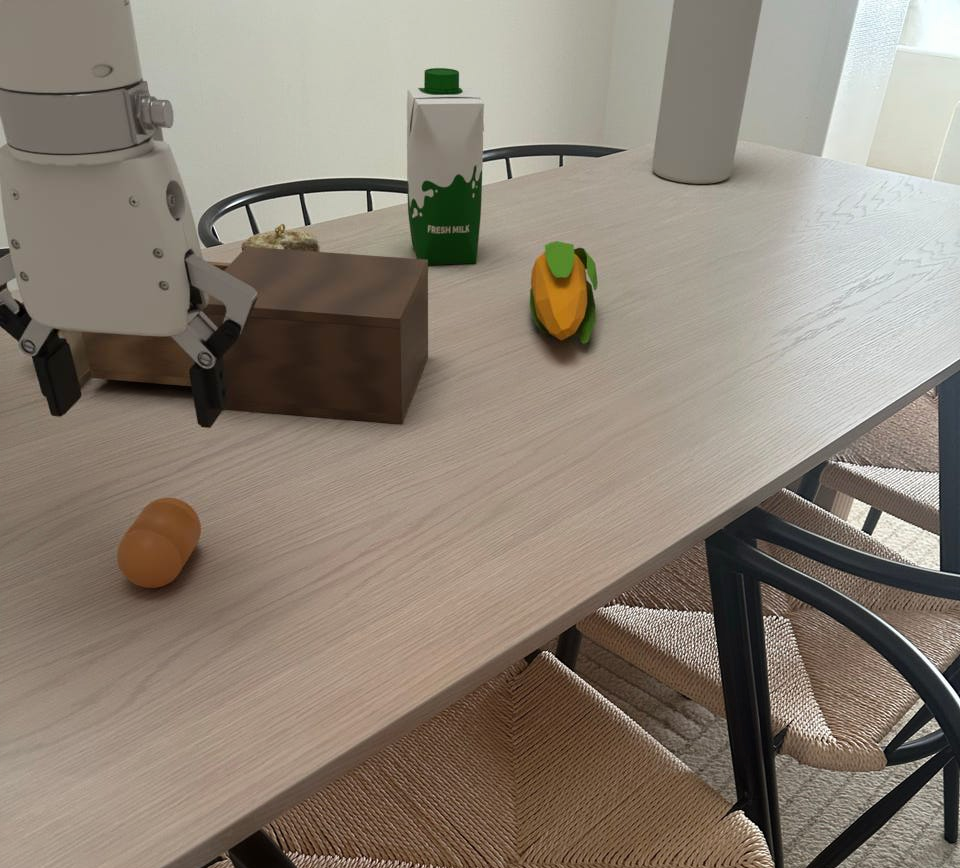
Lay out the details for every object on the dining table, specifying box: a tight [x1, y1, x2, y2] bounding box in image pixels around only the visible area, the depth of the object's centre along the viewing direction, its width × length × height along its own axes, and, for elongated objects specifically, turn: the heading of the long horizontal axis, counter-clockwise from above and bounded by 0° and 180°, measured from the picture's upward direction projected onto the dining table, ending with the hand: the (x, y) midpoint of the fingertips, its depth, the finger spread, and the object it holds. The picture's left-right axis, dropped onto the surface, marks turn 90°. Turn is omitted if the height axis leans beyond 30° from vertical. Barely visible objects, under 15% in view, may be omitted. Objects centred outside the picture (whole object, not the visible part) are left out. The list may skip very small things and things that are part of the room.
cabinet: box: [201, 247, 429, 425], centre depth 92 cm, size 18×15×10 cm
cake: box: [240, 223, 321, 252], centre depth 117 cm, size 10×10×5 cm
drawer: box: [21, 260, 232, 387], centre depth 94 cm, size 22×14×8 cm, turn 83°
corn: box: [529, 240, 598, 344], centre depth 105 cm, size 7×8×20 cm
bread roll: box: [116, 497, 202, 589], centre depth 70 cm, size 8×4×4 cm, turn 173°
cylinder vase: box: [651, 0, 763, 185], centre depth 149 cm, size 12×12×25 cm
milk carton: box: [406, 67, 485, 266], centre depth 118 cm, size 9×9×20 cm
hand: (139, 412), depth 64 cm, fingers open, 9 cm apart
